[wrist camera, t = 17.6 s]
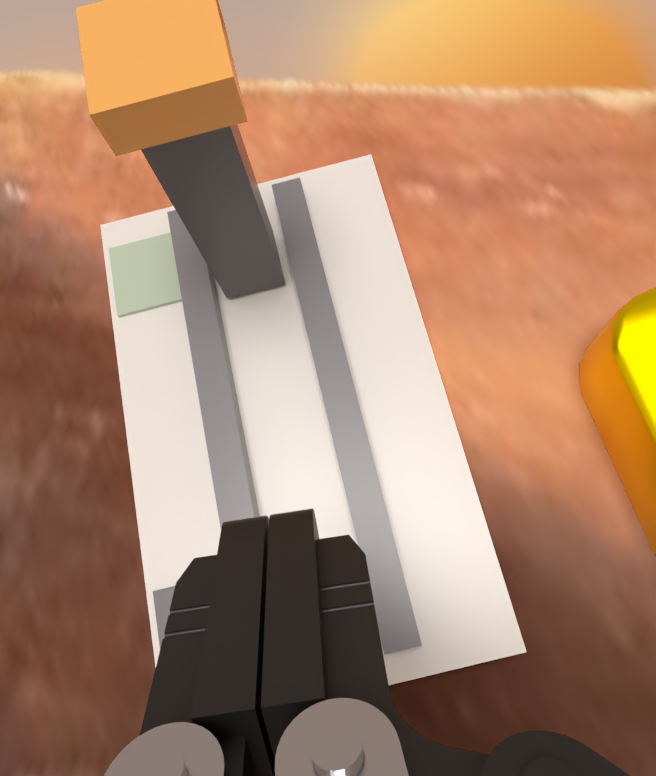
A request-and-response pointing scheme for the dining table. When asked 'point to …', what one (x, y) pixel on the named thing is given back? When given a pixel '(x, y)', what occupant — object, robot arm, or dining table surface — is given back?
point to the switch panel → (305, 415)
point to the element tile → (627, 400)
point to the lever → (182, 124)
